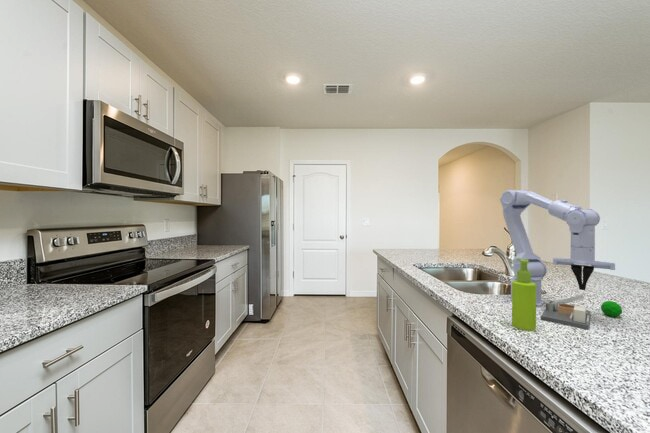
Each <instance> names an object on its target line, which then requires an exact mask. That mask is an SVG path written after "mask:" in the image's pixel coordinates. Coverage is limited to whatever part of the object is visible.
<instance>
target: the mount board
mask: <svg viewBox="0 0 650 433" xmlns="http://www.w3.org/2000/svg"><path fill="white" fill-rule="evenodd" d="M551 302H555V300H549V299H547V301H546V302H545V309H544V310H543V312H542V313H541V315H540V321H545V322H549V323H554V324H558V325H564V326H568V327H573V328H578V329H581V330H582V329H583V330H589V326H590V319H591V311H590V310H589V309H586V322H585V323H582V322H577V321H574V306H575V305H573V304H569V303H568V304H567V303H565V304H560V305H556V306H553V304H551Z"/></svg>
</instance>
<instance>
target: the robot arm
mask: <svg viewBox="0 0 650 433" xmlns="http://www.w3.org/2000/svg"><path fill="white" fill-rule="evenodd" d="M499 200H500V204H501V207H502V215H503V219H504V221H505V223H506V224H505V225H506V227H507V231H508V233H509V237H510V240H511V244H512V245H513V248H514V252H515V254H516V256H514V258H513V259H512V260H511V262H512V264H513V266H512V270H513V273H514V275H515V276H516V277H515V276H513V277H511V280H510V301H511V302H512V281H517V270H519V269H520V261H516V259H526V260H528V261H529V263H527V270H529V271H530V272H531V282H532V283H535V284H536V307H537V306H538V307H541V306H542V305H543V304H544V303H545V301H544V299H542V281H543V280H544V279H543V278H544V277H546V275H547V272H548V269H547V266H546V265H545V263H544V262H543V261H542V259H541V257H540V256H539V255H538V254H536V253H535V252H534V251H533V248H532V245H531V243H530V240H529V236H528V234H527V231H526V228H525V226H524V223H523V221H522V217H521V215H522V213H523V212H524V211H525V210H527V209H528V207H529V206H531V205H534V206H537V207H539V208H542V209H545V210H547V212H548V214H549V216H550V215H551V216H553V217H555V218H557V219H559V220H562V221H564V222H566V225H568V228H569V230H568V231H570V258H561V257H560V258H559V257H558V258H557V257H553V258H552V265H557V266H558V265H559V266H560V265H561V266H570V269H571V272H573V275H574V277H575V279H576V282H577V284H578V289H579V290H580V291H586V286H587V283H588V282H589V279H590V277H591V276H592V274H593V272H594V270H595V269H602V270H603V269H604V270H611V271H615V270H616V263H615V262H608V261H607V262H606V261H599V260H595V259H596V258H595V257H596V226H597V225H598V224H599V223H600V221H601V216H600V214H599V213H598V212H597V211H595V210H594V209H592V208H587V209H583V208H582V206H581V205H574V204H572V203H569V200H566V199H558V200H551V199H550V198H547V197H545V196H543V195H540V194H538V193H536V192H535V191H531V190H527V189H523V190H521V189H506V190H505V191H503V193H502V194H501V196H500V199H499Z"/></svg>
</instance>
